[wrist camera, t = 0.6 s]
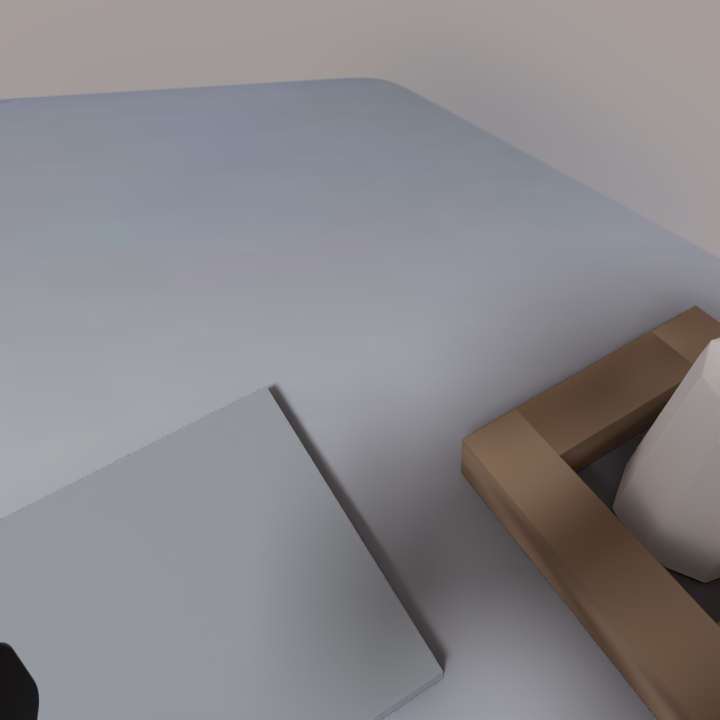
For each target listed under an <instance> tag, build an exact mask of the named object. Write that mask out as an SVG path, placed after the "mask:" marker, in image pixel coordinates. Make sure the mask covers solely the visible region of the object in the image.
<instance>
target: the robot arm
mask: <svg viewBox="0 0 720 720" xmlns="http://www.w3.org/2000/svg"><path fill="white" fill-rule="evenodd" d="M38 711H39V692H38V688H37V685H36V682H35V680H34V679H33V677H32V676H31V674H30V673H29V672H28V670H27V669H26V667H25V666H24V664H23V663H22V661H21V660H20V658H19V657H18V655H17V654H16V652H15V651H14V649H13V648H12V647H11V645H9V644H7V643H5V642H0V720H38Z"/></svg>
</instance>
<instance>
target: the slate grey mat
mask: <svg viewBox="0 0 720 720" xmlns="http://www.w3.org/2000/svg"><path fill="white" fill-rule="evenodd" d="M0 642H5V643H7V644H9V645H11V647H12V648H13V649H14V651H15V652H16V654H17V655H18V657H19V658H20V660H21V661H22V663H23V664H24V666H25V667H26V669H27V670H28V672H29V673H30V674H31V676H32V677H33V679H34V680H35V682H36V685H37V688H38V692H39V711H38V720H381V719H383V718H384V717H386V716H387V715H389V714H390V713H392V712H393V711H395V710H396V709H398V708H399V707H401V706H402V705H404V704H405V703H407V702H408V701H410V700H411V699H413V698H414V697H415V696H417V695H418V694H420V693H421V692H423V691H424V690H426V689H427V688H429V687H430V686H432V685H433V684H435V683H436V682H438V681H439V680H441V679H442V678H443V670H442V669H441V667H440V665H439V664H438V662H437V661H436V659H435V657H434V656H433V654H432V652H431V651H430V649H429V648H428V646H427V644H426V643H425V641H424V640H423V638H422V636H421V635H420V633H419V632H418V630H417V628H416V627H415V625H414V623H413V622H412V620H411V619H410V617H409V615H408V614H407V612H406V611H405V609H404V607H403V606H402V604H401V602H400V601H399V599H398V598H397V596H396V594H395V593H394V591H393V590H392V588H391V586H390V585H389V583H388V582H387V580H386V578H385V577H384V575H383V573H382V572H381V570H380V569H379V567H378V565H377V564H376V562H375V561H374V559H373V557H372V556H371V554H370V553H369V551H368V549H367V548H366V546H365V544H364V543H363V541H362V540H361V538H360V536H359V535H358V533H357V532H356V530H355V528H354V527H353V525H352V523H351V522H350V520H349V519H348V517H347V515H346V514H345V512H344V511H343V509H342V507H341V506H340V504H339V503H338V501H337V499H336V498H335V496H334V494H333V493H332V491H331V490H330V488H329V486H328V485H327V483H326V482H325V480H324V478H323V477H322V475H321V474H320V472H319V470H318V469H317V467H316V465H315V464H314V462H313V461H312V459H311V457H310V456H309V454H308V453H307V451H306V449H305V448H304V446H303V444H302V443H301V441H300V440H299V438H298V436H297V435H296V433H295V432H294V430H293V428H292V427H291V425H290V424H289V422H288V420H287V419H286V417H285V415H284V414H283V412H282V411H281V409H280V407H279V406H278V404H277V403H276V401H275V399H274V398H273V396H272V394H271V393H270V391H269V390H268V388H267V386H265V387H263V388H261V389H259V390H257V391H255V392H253V393H251V394H249V395H247V396H245V397H243V398H241V399H239V400H237V401H235V402H233V403H231V404H229V405H227V406H225V407H223V408H221V409H219V410H217V411H215V412H213V413H211V414H209V415H207V416H205V417H203V418H201V419H199V420H197V421H195V422H193V423H191V424H189V425H187V426H185V427H183V428H181V429H179V430H177V431H176V432H174V433H172V434H170V435H168V436H166V437H164V438H162V439H160V440H158V441H156V442H154V443H152V444H150V445H148V446H146V447H144V448H142V449H140V450H138V451H136V452H134V453H132V454H130V455H128V456H126V457H124V458H122V459H120V460H118V461H116V462H114V463H112V464H110V465H108V466H106V467H104V468H102V469H100V470H98V471H96V472H94V473H92V474H90V475H88V476H86V477H84V478H82V479H80V480H78V481H76V482H74V483H72V484H70V485H68V486H66V487H64V488H62V489H60V490H58V491H56V492H54V493H52V494H50V495H48V496H46V497H44V498H42V499H40V500H38V501H36V502H34V503H32V504H30V505H28V506H26V507H24V508H22V509H20V510H18V511H16V512H14V513H12V514H10V515H8V516H6V517H4V518H2V519H0Z"/></svg>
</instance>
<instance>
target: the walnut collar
mask: <svg viewBox="0 0 720 720" xmlns="http://www.w3.org/2000/svg"><path fill="white" fill-rule="evenodd" d="M717 338H720V323H719V322H717V321H716V320H715V319H713V318H712V317H710V316H709V315H708V314H706V313H705V312H704V311H702V310H701V309H700V308H698V307H697V306H694V307H692V308H691V309H689V310H687V311H685V312H684V313H682V314H680V315H678V316H677V317H675V318H673V319H671V320H670V321H668V322H666V323H664V324H663V325H661V326H659V327H657V328H656V329H654V330H652V331H650V332H649V333H647V334H645V335H643V336H642V337H640V338H638V339H636V340H635V341H633V342H631V343H629V344H628V345H626V346H624V347H622V348H621V349H619V350H617V351H615V352H614V353H612V354H610V355H608V356H607V357H605V358H603V359H601V360H600V361H598V362H596V363H595V364H593V365H591V366H589V367H588V368H586V369H584V370H582V371H581V372H579V373H577V374H575V375H574V376H572V377H570V378H568V379H567V380H565V381H563V382H561V383H560V384H558V385H556V386H554V387H553V388H551V389H549V390H547V391H546V392H544V393H542V394H540V395H539V396H537V397H535V398H533V399H532V400H530V401H528V402H526V403H525V404H523V405H521V406H519V407H518V408H516V409H514V410H512V411H511V412H509V413H507V414H505V415H504V416H502V417H500V418H498V419H497V420H495V421H493V422H491V423H490V424H488V425H486V426H484V427H483V428H481V429H479V430H477V431H476V432H474V433H472V434H470V435H469V436H467V437H465V438H463V439H462V463H461V473H462V474H463V475H464V476H465V478H466V479H467V480H468V481H469V483H470V484H471V485H472V486H473V488H474V489H475V490H476V491H477V493H478V494H479V495H480V497H481V498H482V499H483V500H484V502H485V503H486V504H487V505H488V507H489V508H490V509H491V510H492V512H493V513H494V514H495V515H496V517H497V518H498V519H499V520H500V522H501V523H502V524H503V525H504V527H505V528H506V529H507V530H508V532H509V533H510V534H511V536H512V537H513V538H514V539H515V541H516V542H517V543H518V544H519V546H520V547H521V548H522V549H523V551H524V552H525V553H526V554H527V556H528V557H529V558H530V559H531V561H532V562H533V563H534V564H535V566H536V567H537V568H538V570H539V571H540V572H541V573H542V575H543V576H544V577H545V578H546V580H547V581H548V582H549V583H550V585H551V586H552V587H553V588H554V590H555V591H556V592H557V593H558V595H559V596H560V597H561V598H562V600H563V601H564V602H565V603H566V605H567V606H568V607H569V609H570V610H571V611H572V612H573V614H574V615H575V616H576V617H577V619H578V620H579V621H580V622H581V624H582V625H583V626H584V627H585V629H586V630H587V631H588V632H589V634H590V635H591V636H592V637H593V639H594V640H595V641H596V642H597V644H598V645H599V646H600V648H601V649H602V650H603V651H604V653H605V654H606V655H607V656H608V658H609V659H610V660H611V661H612V663H613V664H614V665H615V666H616V668H617V669H618V670H619V671H620V673H621V674H622V675H623V676H624V678H625V679H626V680H627V682H628V683H629V684H630V685H631V687H632V688H633V689H634V690H635V692H636V693H637V694H638V695H639V697H640V698H641V699H642V700H643V702H644V703H645V704H646V705H647V707H648V708H649V709H650V710H651V712H652V713H653V714H654V715H655V717H656V718H657V719H658V720H720V622H719V623H717V624H716V623H715V622H714V621H713V620H712V618H711V617H710V616H709V615H708V614H707V613H706V612H705V611H704V610H703V609H702V608H701V607H700V606H699V605H698V603H697V602H696V601H695V600H694V599H693V598H692V597H691V596H690V595H689V594H688V593H687V592H686V591H685V590H684V589H683V587H682V586H681V585H680V584H679V583H678V582H677V581H676V580H675V579H674V578H673V577H672V576H671V575H670V574H669V572H668V571H667V570H666V569H665V568H664V567H663V566H662V565H661V564H660V563H659V562H658V561H657V560H656V559H655V557H654V556H653V555H652V554H651V553H650V552H649V551H648V550H647V549H646V548H645V547H644V546H643V545H642V544H641V542H640V541H639V540H638V539H637V538H636V537H635V536H634V535H633V534H632V533H631V532H630V531H629V530H628V529H627V528H626V526H625V525H624V524H623V523H622V522H621V521H620V520H619V519H618V518H617V517H616V516H615V515H614V514H613V513H612V511H611V510H610V509H609V508H608V507H607V506H606V505H605V504H604V503H603V502H602V501H601V500H600V499H599V498H598V496H597V495H596V494H595V493H594V492H593V491H592V490H591V489H590V488H589V487H588V486H587V485H586V484H585V483H584V482H583V480H582V479H581V478H580V477H579V476H578V475H577V474H576V472H578V471H580V470H581V469H583V468H584V467H586V466H588V465H589V464H591V463H592V462H594V461H596V460H597V459H599V458H601V457H602V456H604V455H605V454H607V453H609V452H610V451H612V450H613V449H615V448H617V447H618V446H620V445H621V444H623V443H625V442H626V441H628V440H630V439H631V438H633V437H634V436H636V435H638V434H639V433H641V432H642V431H644V430H646V429H647V428H649V427H650V426H652V425H653V424H654V422H655V421H656V419H657V418H658V416H659V415H660V413H661V412H662V410H663V409H664V407H665V406H666V404H667V403H668V401H669V400H670V398H671V397H672V395H673V394H674V392H675V391H676V389H677V388H678V386H679V385H680V384H681V382H682V381H683V379H684V378H685V376H686V375H687V373H688V372H689V370H690V369H691V367H692V366H693V364H694V363H695V361H696V360H697V358H698V357H699V355H700V354H701V353H702V351H703V350H704V349H705V348H706V346H707V345H708V344H709V343H710V341H711V340H714V339H717Z"/></svg>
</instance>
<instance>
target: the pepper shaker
mask: <svg viewBox="0 0 720 720" xmlns="http://www.w3.org/2000/svg"><path fill="white" fill-rule="evenodd" d="M612 509H613V511H614V512H615V514H616V516H617V517H618V519H619V520H620V521H621V522H622V523H623V524H624V525H625V526H626V528H627V529H628V530H629V531H630V532H631V533H632V534H633V535H634V536H635V537H636V538H637V539H638V540H639V541H640V542H641V544H642V545H643V546H644V547H645V548H646V549H647V550H648V551H649V552H650V553H651V554H652V555H653V556H654V557H655V559H656V560H657V561H658V562H659V563H660V564H661V565H662V566H664V567H666V568H669V569H671V570H674V571H676V572H679V573H681V574H684V575H686V576H689V577H691V578H694V579H696V580H699V581H701V582H704V583H706V582H709V581H712V580H715V579H717V578H720V338H717V339H714V340H711V341H710V343H709V344H708V345H707V346H706V348H705V349H704V350H703V351H702V353H701V354H700V355H699V357H698V358H697V360H696V361H695V363H694V364H693V366H692V367H691V369H690V370H689V372H688V373H687V375H686V376H685V378H684V379H683V381H682V382H681V384H680V385H679V386H678V388H677V389H676V391H675V392H674V394H673V395H672V397H671V398H670V400H669V401H668V403H667V404H666V406H665V407H664V409H663V410H662V412H661V413H660V415H659V416H658V418H657V419H656V421H655V422H654V424H653V425H652V426H651V428H650V429H649V431H648V432H647V434H646V435H645V437H644V438H643V440H642V441H641V443H640V444H639V446H638V447H637V449H636V450H635V452H634V453H633V455H632V456H631V458H630V459H629V461H628V462H627V464H626V465H625V469H624V472H623V475H622V478H621V481H620V484H619V488H618V491H617V494H616V497H615V500H614V504H613V507H612Z"/></svg>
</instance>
